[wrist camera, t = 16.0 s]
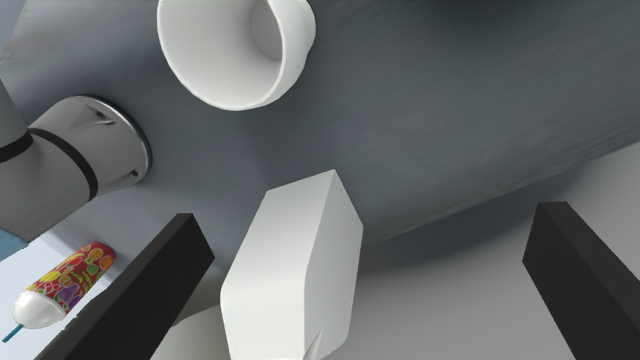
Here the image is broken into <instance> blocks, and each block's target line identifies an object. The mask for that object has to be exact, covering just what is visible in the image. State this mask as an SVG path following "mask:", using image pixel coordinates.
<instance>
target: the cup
mask: <svg viewBox="0 0 640 360" xmlns="http://www.w3.org/2000/svg"><path fill="white" fill-rule="evenodd" d="M157 30H158V35H159V39H160V43H161V47H162V50H163V52H164V55H165V57H166V59H167V61H168V64H169V66H170V67H171V69H172V70H173V72H174V73H175V75H176V76H177V77H178V79H179V80H180V82H181V83H182V84H183V85H184V86H185V87H186V88H187V89H188V90H189V91H190V92H191V93H192V94H194V95H195V96H197V97H198V98H200V99H201V100H203V101H204V102H206V103H207V104H210V105H213V106H215V107H218V108H221V109H225V110H234V111H240V110H246V109H252V108H256V107H261V106H265V105H267V104H269V103H271V102H273V101H275V100H277V99H279V98H280V97H281V96H282V95H283V94H284V93H285V92H286V91H287V90H288V89H289V88H290V87H291V86H292V85H293V84H294V83H295V82H296V81H297V79H298V77H299V75H300V74H301V72H302V70H303V68H304V65H305V61H306V57H307V54H308V52H309V50H310V48H311V47H312V45H313V42H314V38H315V31H316V24H315V18H314V14H313V12H312V9H311V7H310V5H309V3H308V2H307V1H306V0H159V4H158V9H157Z"/></svg>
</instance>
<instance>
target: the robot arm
mask: <svg viewBox="0 0 640 360" xmlns="http://www.w3.org/2000/svg"><path fill="white" fill-rule="evenodd" d="M151 165H152V154H151V150H150V146H149V144H148V141H147V139H146V137H145V135H144V134H143V132H142V131H141V129H140V128H139V127H138V125H137V124H136V123H135V122H134V121H133V119H132V118H131V117H130V116H129V115H127V114H126V113H125V112H124V111H123V110H121V109H120V108H119V107H117V106H116V105H114V104H113V103H111V102H109V101H107V100H105V99H103V98H100V97H97V96H93V95H87V94H80V95H75V96H72V97H68V98H66V99H63V100H62V101H60V102H58V103H56V104H55V105H54V106H53V107H51V108H50V109H49V110H48V111H47V112H45V113H44V114H43V115H42V116H41V117H40V118H38V119H37V120H36V121H35V122H34V123H33V124H31V125H30V126H29V127H27V126H26V124H25V123H24V121H23V119H22V117H21V115H20V114H19V112H18V110H17V108H16V106H15V105H14V103H13V101H12V99H11V98H10V96H9V94H8V92H7V90H6V89H5V87H4V85H3V83H2V81H1V79H0V261H2V260H4V259H6V258H7V257H9V256H11V255H12V254H14V253H16V252H17V251H19V250H21V249H24V248H26V247H27V246H28V244H29V243H30V242H32V241H33V240H35V239H36V238H37V237H39V236H40V235H42V234H43V233H45V232H46V231H48V230H49V229H50V228H52V227H53V226H55V225H56V224H58V223H59V222H60V221H62V220H63V219H65V218H66V217H68V216H69V215H70V214H72V213H73V212H75V211H76V210H78V209H79V208H80V207H82V206H83V205H85V204H86V203H87V202H89V201H90V200H92V199H93V198H95V197H96V196H99V195H103V194H106V193H109V192H112V191H116V190H119V189H122V188H125V187H129V186H131V185H133V184H135V183H137V182H138V181H140V180H141V179H142V178H144V177H145V176H146V175H147V174H148V172H149V171H150V168H151ZM214 259H215V256H214V254H213V252H212V250H211V248H210V247H209V245H208V243H207V241H206V239H205V237H204V235H203V233H202V231H201V229H200V227H199V225H198V223H197V221H196V219H195V217H194V215H193V213H180V214H177V215H176V216H175V217H174V218H173V219H172V220H171V221H170V222H169V223H168V224H167V225H166V226H165V227H164V228H163V230H162V231H161V232H160V233H159V234H158V235H157V236H156V237H155V238H154V239H153V240H152V241H151V242H150V243H149V244H148V245H147V246H146V248H145V249H144V250H143V251H142V252H141V253H140V254H139V255H138V256H137V257H136V258H135V259H134V260H133V261H132V262H131V263H130V264H129V265H128V267H127V268H126V269H125V270H124V271H123V272H122V273H121V274H120V275H119V276H118V277H117V278H116V279H115V280H114V281H113V282H112V283H111V284H110V286H109V287H108V288H107V289H105V290H104V291H103V292H101V293H100V294H99V295H97V296H96V297H95V298H93V299H92V300H91V301H90V302H89V303H88V304H87V305H86V306H85V307H84V308H83V309H82V310H81V311H80V312H79V313H78V314H77V317H76V318H73V319H72V320H71V321H70V323H68V324H67V325H66V327H65V329H64V330H62V331H61V332H60V333H59V334H58V335H57V336H56V337H55V338H54V339H53V340H52V341H51V342H50V343H49V344H48V345H47V346H46V347H45V348H44V349H43V350H42V352H41V353H40V354H39V355H38V356H37V357H36V358H35V359H34V360H150V359H151V357H152V355H153V354H154V352H155V351H156V349H157V348H158V346H159V345H160V343H161V341H162V340H163V338H164V337H165V335H166V333H167V332H168V330H169V329H170V327H171V326H172V324H173V323H174V321H175V320H176V318H177V316H178V315H179V313H180V312H181V310H182V309H183V307H184V305H185V304H186V302H187V301H188V299H189V298H190V296H191V294H192V293H193V291H194V290H195V288H196V287H197V285H198V284H199V282H200V280H201V279H202V277H203V276H204V274H205V273H206V271H207V269H208V268H209V266H210V265H211V263H212V262H213V260H214ZM522 262H523V264H524V265H525V267H526V269H527V271H528V273H529V275H530V276H531V278H532V280H533V282H534V284H535V286H536V288H537V289H538V291H539V293H540V295H541V297H542V299H543V300H544V302H545V304H546V306H547V308H548V310H549V311H550V313H551V315H552V317H553V319H554V321H555V322H556V324H557V326H558V328H559V330H560V332H561V333H562V335H563V337H564V339H565V341H566V343H567V344H568V346H569V348H570V350H571V352H572V353H573V355H574V357H575V359H576V360H640V281H639V280H638V279H637V278H636V277H635V276H634V274H633V273H632V272H631V271H629V269H628V268H627V267H626V266H625V265H624V264H623V263H622V261H621V260H620V259H619V258H618V257H617V256H616V255H615V254H614V253H613V252H612V251H611V250H610V249H609V248H608V246H607V245H606V244H605V243H604V242H603V241H602V240H601V239H600V238H599V237H598V236H597V235H596V233H595V232H594V231H593V230H592V229H591V228H590V227H589V226H588V225H587V224H586V223H585V222H584V220H583V219H582V218H581V217H580V216H579V215H578V214H577V213H576V212H575V211H574V210H573V209H572V208H571V207H570V205H569V204H568V203H567V202H538V205H537V209H536V213H535V216H534V220H533V224H532V227H531V231H530V235H529V239H528V242H527V246H526V250H525V253H524V257H523V260H522Z"/></svg>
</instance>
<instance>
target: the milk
mask: <svg viewBox="0 0 640 360" xmlns="http://www.w3.org/2000/svg"><path fill="white" fill-rule="evenodd" d="M362 234H363V225H362V223H361V220H360V218H359V216H358V214H357V212H356V210H355V208H354V206H353V204H352V202H351V200H350V198H349V196H348V194H347V192H346V190H345V188H344V186H343V184H342V182H341V180H340V178H339V176H338V174H337V172H336V170H335V169H332V170H329V171H326V172H323V173H320V174H317V175H314V176H311V177H308V178H305V179H302V180H299V181H296V182H293V183H289V184H286V185H283V186H280V187H277V188H274V189H271V190H268V191H267V192H266V194H265V196H264V198H263V201H262V203H261V205H260V207H259V209H258V211H257V213H256V215H255V217H254V220H253V222H252V224H251V226H250V228H249V230H248V232H247V234H246V236H245V239H244V241H243V243H242V245H241V247H240V249H239V251H238V253H237V256H236V258H235V260H234V262H233V264H232V266H231V268H230V270H229V272H228V275H227V277H226V279H225V281H224V283H223V286H222V289H221V295H220V303H221V310H222V316H223V321H224V326H225V331H226V336H227V341H228V346H229V351H230V356H231V360H320V359H322V358H323V357H325V356H327V355H328V354H330V353H331V352H332V351H334V350H335V349H337V348H338V347H340V346H341V345H342V344H343V343H344V342H345V340H346V338H347V336H348V332H349V325H350V319H351V311H352V304H353V297H354V290H355V283H356V276H357V269H358V261H359V254H360V248H361V241H362Z"/></svg>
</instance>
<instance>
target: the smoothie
mask: <svg viewBox="0 0 640 360" xmlns="http://www.w3.org/2000/svg"><path fill="white" fill-rule="evenodd" d="M114 259H115V255H114V253H113V252H112V250H111V249H110V248H108V247H107V246H105V245H103V244H101V243H91V244H90V245H85V246H84V247H82V248H81V249H80V250H78V251H77V252H75V253H74V254H73V255H71V256H70V257H69V258H67V259H66V260H65V261H64V262H62V263H61V264H59V265H58V266H57V267H55V268H54V269H53V270H51V271H50V272H49V273H47V274H46V275H45V276H43V277H42V278H40V279H39V280H38V281H36V282H35V283H34V284H32V285H31V286H30V287H29V288H27V289H26V290H25V291H23V292H21V293H20V294H19V299H18V300H17V302H16V303H15V305H14V308H13V317H14V319H15V321H16V323H17V324H18V325H19V326H18V327H16V328H15V329H14V330H13V331H12V332H11V333H10V334H9V335H8V336H7V337H5V338H4V339H3V340H2V341H3V342H5V343H6V342H7V341H8V340H9V339H10V338H11V337H12V336H14V335H15V334H16V333H17V332H18V331H19V330H20V329H21V328H22V327H23V328H28V329H39V328H43V327H47V326H50V325H51V324H54V323H55V322H57V321H60V320H63V319H64V318H65V317H66V315H67V314H68V313H69V312H70V311H71V310H72V308H73V307H74V306H75V305H76V304H77V303H78V302H79V301H80V299H82V297H83V296H84V295H85V294H86V293H87V292H88V291H89V290H90V289H91V287H92V286H93V285H94V284H95V283H96V282H97V281H98V280H99V279H100V277H101V276H102V275H103V274H104V273H105V272H106V271H107V270H108V269H109V268H110V266H111V265H112V264H113V260H114Z"/></svg>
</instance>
